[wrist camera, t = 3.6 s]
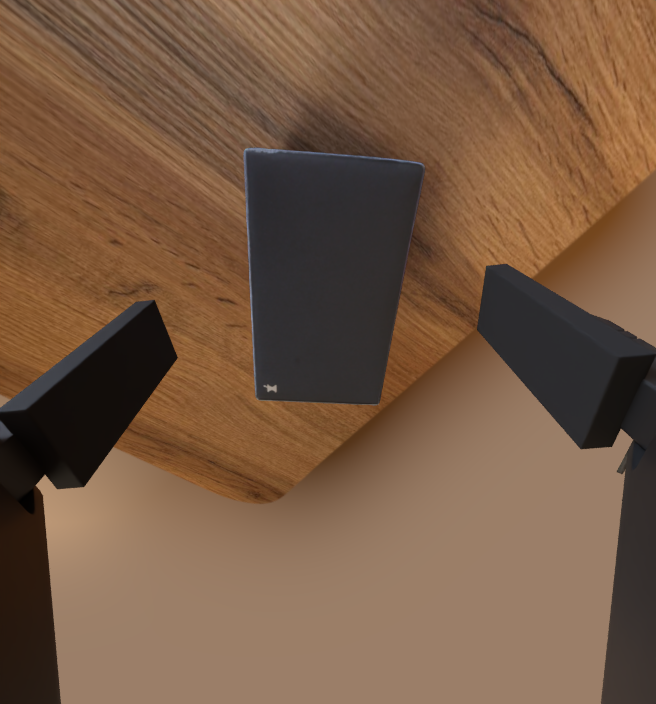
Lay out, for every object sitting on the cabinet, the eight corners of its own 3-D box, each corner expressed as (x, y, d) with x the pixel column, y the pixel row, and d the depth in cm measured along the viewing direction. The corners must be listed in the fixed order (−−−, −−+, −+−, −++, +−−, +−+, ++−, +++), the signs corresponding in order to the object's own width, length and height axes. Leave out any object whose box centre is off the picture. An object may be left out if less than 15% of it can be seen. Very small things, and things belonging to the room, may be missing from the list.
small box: (364, 319, 25) (384, 412, 16) (278, 313, 25) (249, 405, 16) (387, 158, 19) (437, 161, 10) (276, 148, 19) (231, 144, 10)
